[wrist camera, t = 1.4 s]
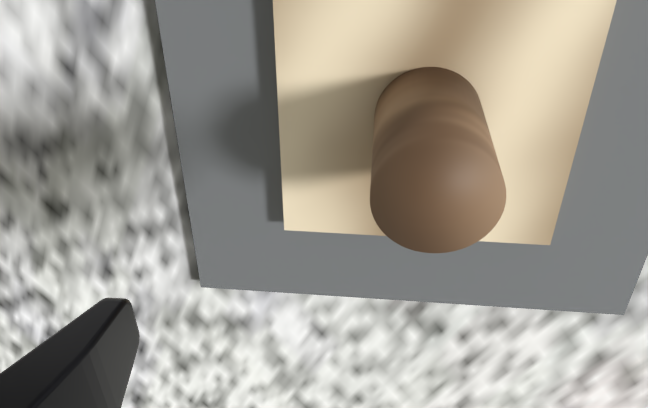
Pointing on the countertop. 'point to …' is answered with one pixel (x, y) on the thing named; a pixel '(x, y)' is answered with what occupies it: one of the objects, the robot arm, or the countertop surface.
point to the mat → (380, 251)
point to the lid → (433, 115)
